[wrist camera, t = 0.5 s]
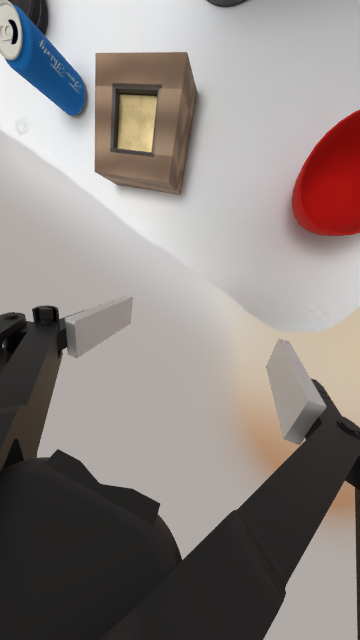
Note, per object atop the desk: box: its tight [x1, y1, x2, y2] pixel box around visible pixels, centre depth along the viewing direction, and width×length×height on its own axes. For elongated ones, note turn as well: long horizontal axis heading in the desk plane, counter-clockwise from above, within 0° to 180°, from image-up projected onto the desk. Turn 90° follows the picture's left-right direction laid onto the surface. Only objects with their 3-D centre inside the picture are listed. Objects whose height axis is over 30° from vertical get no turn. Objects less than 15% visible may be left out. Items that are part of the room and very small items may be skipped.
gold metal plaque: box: [117, 94, 157, 152], centre depth 30 cm, size 7×7×1 cm
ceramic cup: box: [292, 110, 360, 236], centre depth 25 cm, size 13×17×10 cm
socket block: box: [95, 52, 197, 194], centre depth 32 cm, size 15×15×6 cm
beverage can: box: [0, 0, 85, 116], centre depth 31 cm, size 6×6×12 cm
